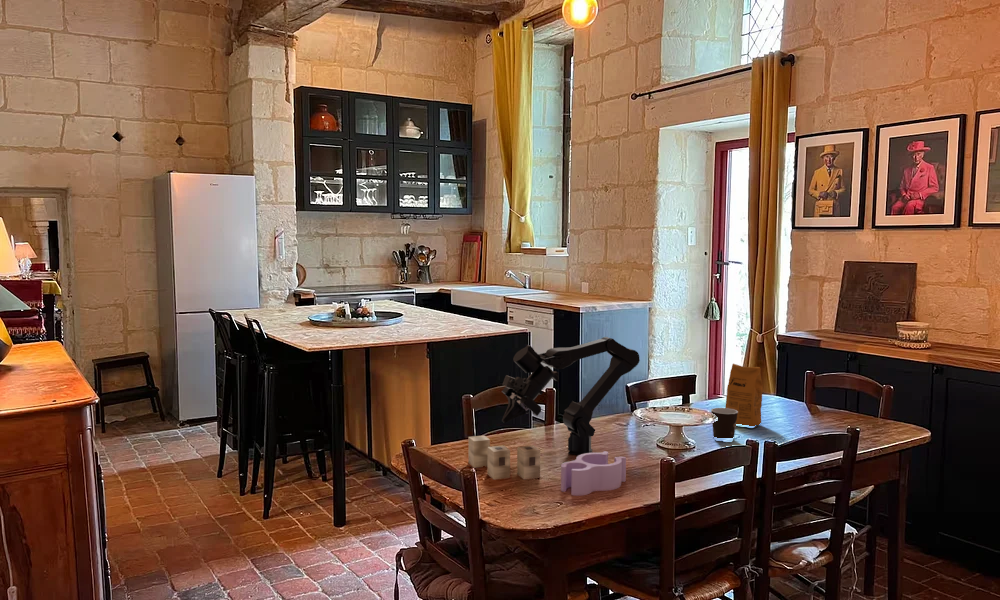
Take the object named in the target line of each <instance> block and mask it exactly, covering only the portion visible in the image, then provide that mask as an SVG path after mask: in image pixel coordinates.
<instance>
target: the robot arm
mask: <svg viewBox="0 0 1000 600" xmlns="http://www.w3.org/2000/svg"><path fill="white" fill-rule="evenodd" d="M545 351H546V352H542V353H538V352H536V351H535V349H534V347H532V346H531V345H529V344H526V346H525V347H523V348H521V349H520V350H518V351H517V352H515V354H514V356H513V362H514V363H515V364H516V365H517V366H518V367H519V368H520V369H521V370H522V371H524V373H525V374H529V373H531V374H530V375H529V376H528V377H527V378H526V377H524V378H522V377H519V376H515V377H512V376H509V375H507V374H506V375H505V377H504V379H503V382H502V386H505V387H503V389H502V390H501V393H503V394H504V395H505V396H506V398H507V402H508V405H507V407H506V410H505V412H504V414H503V416H502V419H501V422H503V423H504V424H506V423H508V422H510V421H512V420H515V419H516V418H517V419H518V418H519V417H521V416H524V415H527V414H529V411H528V410H530V411H531V413H532V414H533V415H534V416H536V417H538V416H539V415H540V414H541V412H542V406H540V405H539V404H538V403H537V402H536V401H535V399H536V398H537V397H538V396H539V395H540V396H542V395H543V394H544V392H543V390H544V389H545V387H546V386H547V385H548V384H549V382H550V381H551V380H554V381H556V382H559V381H560V380H559V378H560V377H559V372H558V371H556V370H563V369H566V368H567V367H569V366H571V365H572V364H573V363H575V362H577V361H579V360H582V359H585V358H589V357H592V356H597V355H598V354H603V353H605V352H606V353H608V355H610V356H611V358H610V362H609V365H608V368H607V369H606V370H605V372H603V374H602V375H601V376H600V377H599V379H598V380H597V381H596V382H595V384H594V385H593V386H592V388H590V390H589V391H588V392H587V393H586V395H585V396H584V397H583V398H582V399H581V400H580V401H578V402H575V401H573V400H572V401H571V402H570V404H569V405H568V407H566V408H565V409H564V413H563V415H562V422H563V425H565V426H566V428H567V431H569V432H570V433H569V437H568V438H567V440H568V441H567V451H568V453H567V454H569V455H577V456H579V455H581V454H585V453H593V448H592V437H594V435H595V432H596V429H595V427H593V426H592V424H591V423H590V422H591V420H592V419H593V418H592V417H593V413H594V411H595V410H596V408H597V407H598V405H599V404H601V402H602V400H603V399H604V398H605V397H606V396H607V395H608V393H609V392H610V390H612V389H613V387H614V386H615V384H616V383H617V382H618V381H619V380H620V378H621V377H623V376H624V375H626V374H628V373H630V372H631V371H633V370H634V369H635V368H636V367H637V366H638V365H639V363H640V361H641V360H640V354H639V352H638V351H637V350H635V349H632V348H628V347H626V346H624V345H623V344H621V343H619V342H618V341H616V340H615V339H614V338H611V337H607V336H604V337H602V338H599V339H596V340H592V341H589V342H585V343H582V344H578V345H575V346H571V347H553V348H552V347H551V348H549V349H547V350H545ZM543 364H545V365H546V366H545V365H543ZM551 368H553V369H556V370H553V369H551Z"/></svg>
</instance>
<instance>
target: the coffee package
mask: <svg viewBox="0 0 1000 600" xmlns="http://www.w3.org/2000/svg"><path fill="white" fill-rule="evenodd" d="M761 371H762V368H761V367H760V366H743V365H740V364H735V363H732V365H731V369H730V372H729V379H728V384H727V387H726V389H727V390H726V397H725V398H726V400H725V405H724V406H725V407H724V408H729V409H734V410H737V411H738V415H737V421H736V424H742V425H749V426H755V425H758V426H760V425H761V424H762V406H763V405H762V404H763V392H764V391H763V388H764V386H763V380H762V374H761ZM760 423H761V424H760ZM759 424H760V425H759Z"/></svg>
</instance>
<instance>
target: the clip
mask: <svg viewBox="0 0 1000 600" xmlns="http://www.w3.org/2000/svg"><path fill="white" fill-rule="evenodd" d="M626 471H627V457H626V456H614V462H613V463H609V451H602V452H591V453H585V454H581V455H577V456H576V459H574V460H571V461H570V460H569V461H565V462H562V463H561V464H560V491H561V492H566V491H567V489H569V488H571V489H570V490H571V491H570V493H571V494H570V495H571V496H577V497H579V496H586V495H589V494H591V493H592V492H596V491H597V492H598V491H599V492H600V491H601V492H602V491H603V492H604V491H613V490H616V489H617V490H618V489H619V488H620V487H621V486H622V482H623V483H624V482H626V480H627V479H626V478H627V477H626V475H627V474H626V473H627V472H626Z"/></svg>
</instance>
